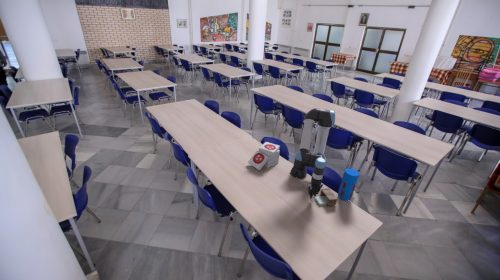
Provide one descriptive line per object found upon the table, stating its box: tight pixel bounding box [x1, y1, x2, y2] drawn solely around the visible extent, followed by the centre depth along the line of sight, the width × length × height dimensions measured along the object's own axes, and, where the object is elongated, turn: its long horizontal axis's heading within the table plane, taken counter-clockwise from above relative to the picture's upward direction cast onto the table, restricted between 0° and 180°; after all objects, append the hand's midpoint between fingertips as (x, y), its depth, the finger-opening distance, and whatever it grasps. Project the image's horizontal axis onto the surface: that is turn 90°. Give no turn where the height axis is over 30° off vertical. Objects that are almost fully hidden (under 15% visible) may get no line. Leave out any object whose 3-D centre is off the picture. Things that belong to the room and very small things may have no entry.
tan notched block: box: [319, 187, 338, 207], centre depth 192 cm, size 13×7×7 cm, turn 14°
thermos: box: [337, 167, 360, 202], centre depth 193 cm, size 11×11×25 cm
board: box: [314, 195, 328, 206], centre depth 192 cm, size 8×11×2 cm
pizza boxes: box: [247, 141, 281, 171], centre depth 231 cm, size 19×30×18 cm, turn 131°
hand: (311, 201), depth 189 cm, fingers closed
